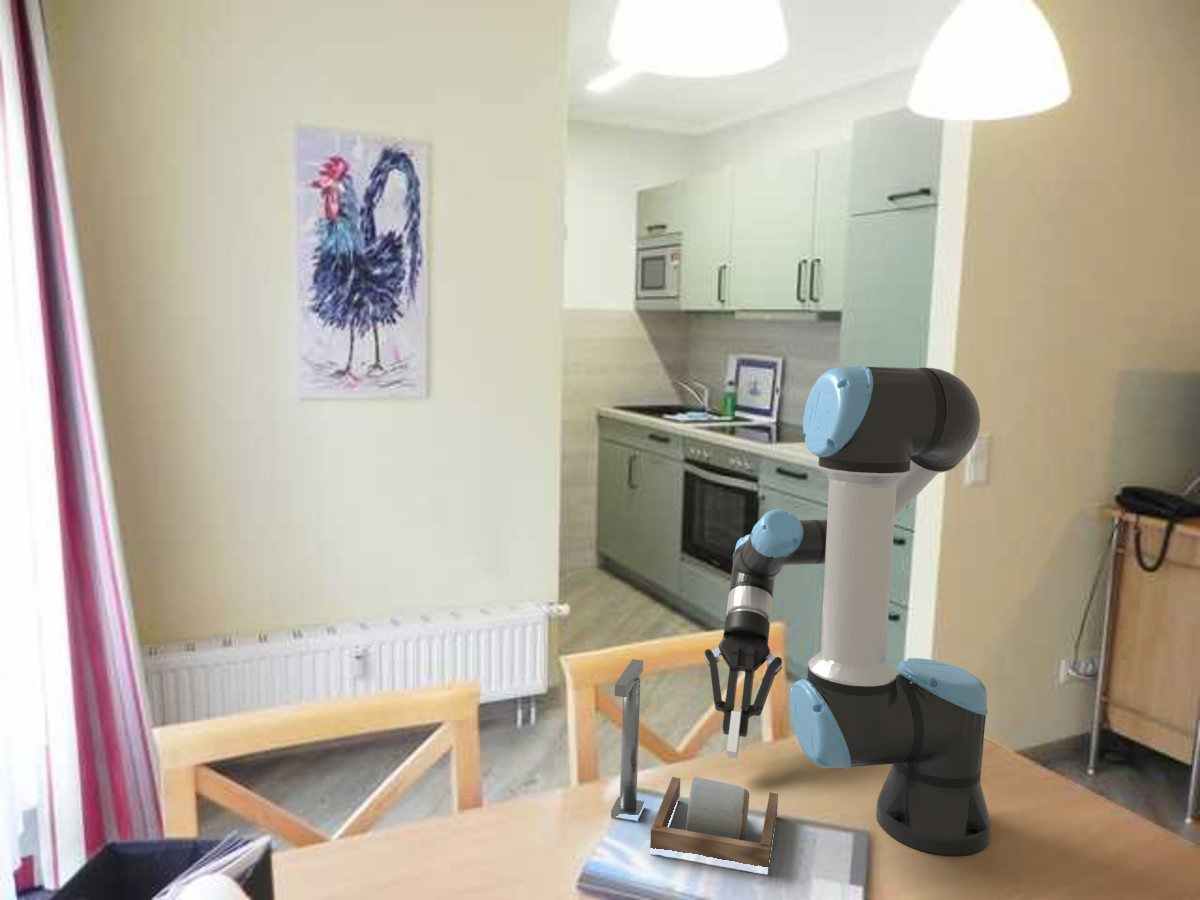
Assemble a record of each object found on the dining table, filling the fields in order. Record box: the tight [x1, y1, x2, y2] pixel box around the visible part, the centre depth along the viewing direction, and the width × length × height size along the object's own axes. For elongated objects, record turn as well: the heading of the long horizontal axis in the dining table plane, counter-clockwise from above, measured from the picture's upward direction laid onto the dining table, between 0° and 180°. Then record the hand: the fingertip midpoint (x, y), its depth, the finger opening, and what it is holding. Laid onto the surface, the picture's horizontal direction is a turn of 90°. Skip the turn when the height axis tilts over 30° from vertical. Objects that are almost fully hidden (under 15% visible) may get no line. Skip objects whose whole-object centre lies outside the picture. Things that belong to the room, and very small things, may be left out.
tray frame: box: [649, 776, 779, 868], centre depth 121 cm, size 15×15×4 cm
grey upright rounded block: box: [685, 776, 750, 841], centre depth 122 cm, size 11×8×8 cm
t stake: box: [610, 658, 646, 819], centre depth 124 cm, size 4×10×22 cm, turn 164°
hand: (732, 754), depth 136 cm, fingers closed
